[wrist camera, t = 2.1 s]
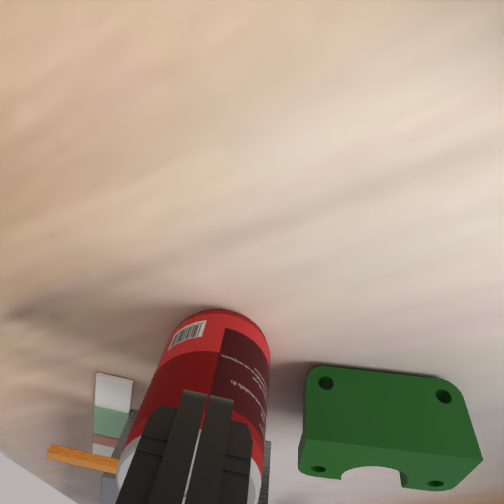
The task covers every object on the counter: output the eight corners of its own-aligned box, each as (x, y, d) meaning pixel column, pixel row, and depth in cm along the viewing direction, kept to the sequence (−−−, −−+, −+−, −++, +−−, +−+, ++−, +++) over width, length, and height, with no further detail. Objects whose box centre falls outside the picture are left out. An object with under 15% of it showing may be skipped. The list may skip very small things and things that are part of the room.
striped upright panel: (133, 380, 33) (131, 384, 32) (124, 462, 38) (122, 466, 38) (97, 372, 33) (95, 375, 32) (93, 456, 38) (91, 459, 38)
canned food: (160, 369, 32) (102, 510, 22) (185, 291, 28) (129, 418, 19) (250, 398, 33) (232, 547, 23) (285, 325, 29) (282, 466, 19)
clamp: (319, 370, 36) (274, 461, 30) (330, 329, 32) (282, 425, 26) (457, 437, 32) (437, 557, 26) (489, 399, 28) (475, 531, 22)
